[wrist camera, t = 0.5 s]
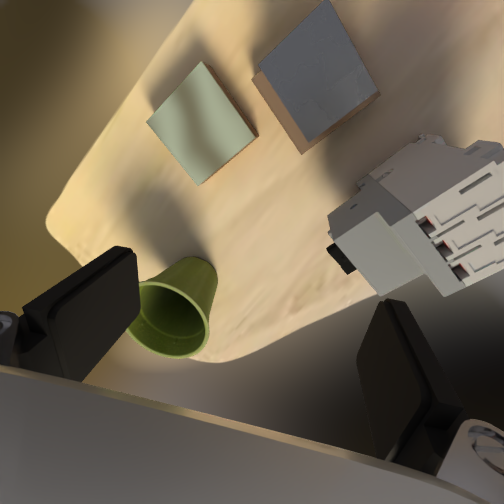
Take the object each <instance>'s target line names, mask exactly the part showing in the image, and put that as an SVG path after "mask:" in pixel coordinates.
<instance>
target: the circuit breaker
mask: <svg viewBox="0 0 504 504" xmlns="http://www.w3.org/2000/svg"><path fill="white" fill-rule="evenodd" d="M418 137H419V138H420V140H418V141H417V142H416V143H411V142H410V143H409V144H407V145H406V146H405V147H403V148H402V149H401V150H399V151H398V152H397V153H395V154H394V155H393V156H391V157H390V158H389V159H387V160H386V161H385V162H383V163H382V164H381V165H379V166H378V167H377V168H375V169H374V170H373V171H371V172H370V173H369V175H368V174H367V175H366V176H365V177H363V178H362V179H361V180H359V181H358V182H357V183H356V184H357V186H358V187H359V188H360V190H361V191H360V192H358V193H357V194H356V195H354V196H353V197H352V198H350V199H349V200H348V201H346V202H345V203H343V204H342V205H341V206H339V207H338V208H337V209H335V210H334V211H333V212H331V213H330V214H329V215H328V221H329V225H330V230H329V231H328V235H329V236H330V237H331V238H332V239H333V241H334V242H335V243H333V244H332V245H330V246H329V247H327V248H326V249H327V251H328V253H329V254H330V255H331V256H332V257H333V258H334V259H335V260H336V261H337V263H338V264H339V265H340V266H341V268H342V269H343V270H344V272H345V273H346V274H347V275H348V274H350V273H351V272H353V271H355V270H356V269H357V270H358V271H359V272H360V273H361V274H362V276H363V277H364V278H365V279H366V280H367V282H368V283H369V284H370V285H371V286H372V287H373V289H374V290H375V291H376V292H377V293H378V295H379V296H383V295H385V294H386V293H388V292H390V291H392V290H394V289H396V288H398V287H400V286H402V285H404V284H405V283H407V282H409V281H411V280H413V279H415V278H417V277H419V276H421V275H423V274H426V275H427V276H428V277H429V279H430V280H431V281H432V283H433V284H434V285H435V286H436V288H437V289H438V290H439V291H440V293H441V294H442V295H443V296H444V297H445V296H448V295H450V294H452V293H454V292H456V291H458V290H461V289H463V288H465V287H466V286H469V285H471V284H473V283H475V282H477V281H479V280H482V279H484V278H486V277H488V276H490V275H492V274H494V273H496V272H498V271H500V270H502V269H504V148H503V147H502V145H501V144H500V143H497V142H490V141H482V140H478V141H476V142H475V143H473V144H472V145H470V146H469V147H467V148H466V149H462V148H457V147H451V146H447V144H446V143H445V141H444V140H443V138H442V137H441V136H440V135H432V134H427V135H426V136H425V135H424V134H423V133H422V134H421V135H419V136H418ZM465 285H466V286H465Z"/></svg>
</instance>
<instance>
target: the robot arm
mask: <svg viewBox="0 0 504 504" xmlns="http://www.w3.org/2000/svg"><path fill="white" fill-rule="evenodd" d="M22 309H23V311H24V314H23V315H21V316H20V317H18V316H17V315H16V314H15V313H12V312H9V311H0V504H504V432H503V431H501V430H499V429H498V428H496V427H494V426H493V425H491V424H488V423H486V422H483V421H480V420H474V419H470V418H469V417H468V415H467V413H466V411H465V409H464V407H463V405H462V403H461V401H460V400H459V398H458V396H457V394H456V392H455V390H454V389H453V387H452V385H451V383H450V381H449V380H448V378H447V376H446V374H445V372H444V371H443V369H442V367H441V365H440V363H439V362H438V360H437V358H436V356H435V355H434V353H433V351H432V349H431V347H430V346H429V344H428V342H427V340H426V338H425V337H424V335H423V333H422V331H421V330H420V328H419V326H418V324H417V322H416V320H415V319H414V317H413V315H412V313H411V311H410V310H409V308H408V306H407V304H406V303H405V302H403V301H398V300H393V299H386V300H385V301H384V302H383V301H380V302H379V304H378V306H377V308H376V311H375V313H374V316H373V318H372V320H371V323H370V325H369V327H368V330H367V332H366V335H365V337H364V339H363V342H362V344H361V347H360V349H359V351H358V354H357V359H356V361H357V362H356V363H357V369H358V373H359V378H360V383H361V387H362V392H363V396H364V401H365V406H366V411H367V415H368V420H369V425H370V429H371V434H372V438H373V443H374V447H375V452H376V457H377V458H373V457H370V456H366V455H363V454H359V453H356V452H352V451H348V450H345V449H341V448H338V447H334V446H330V445H326V444H322V443H318V442H314V441H311V440H306V439H303V438H299V437H295V436H291V435H287V434H284V433H280V432H276V431H272V430H268V429H264V428H260V427H256V426H252V425H249V424H245V423H241V422H237V421H233V420H229V419H225V418H221V417H217V416H213V415H209V414H206V413H202V412H198V411H194V410H190V409H185V408H182V407H178V406H174V405H170V404H166V403H162V402H158V401H153V400H150V399H146V398H142V397H138V396H134V395H130V394H126V393H122V392H118V391H114V390H110V389H106V388H101V387H97V386H93V385H89V384H85V383H81V382H82V381H83V380H84V379H85V377H86V376H87V375H88V374H89V373H90V372H91V370H92V369H93V368H94V367H95V366H96V364H97V363H98V362H99V361H100V360H101V359H102V357H103V356H104V355H105V354H106V353H107V352H108V350H109V349H110V348H111V347H112V346H113V345H114V343H115V342H116V341H117V340H118V338H119V337H120V336H121V335H122V334H123V333H124V332H125V330H126V329H127V328H128V327H129V326H130V325H131V323H132V322H133V321H134V320H135V319H136V318H137V316H138V315H139V313H140V310H141V302H140V291H139V279H138V267H137V256H136V254H135V253H133V251H132V249H131V248H127V247H121V246H114V247H112V248H111V249H109V250H108V251H106V252H105V253H103V254H102V255H100V256H99V257H97V258H96V259H94V260H93V261H91V262H90V263H88V264H86V265H85V266H83V267H82V268H80V269H79V270H77V271H76V272H74V273H73V274H71V275H70V276H68V277H67V278H65V279H64V280H62V281H61V282H59V283H58V284H57V285H55V286H53V287H52V288H51V289H49V290H47V291H46V292H44V293H43V294H41V295H40V296H38V297H37V298H35V299H34V300H32V301H31V302H29V303H28V304H26V305H24V306H23V307H22Z"/></svg>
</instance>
